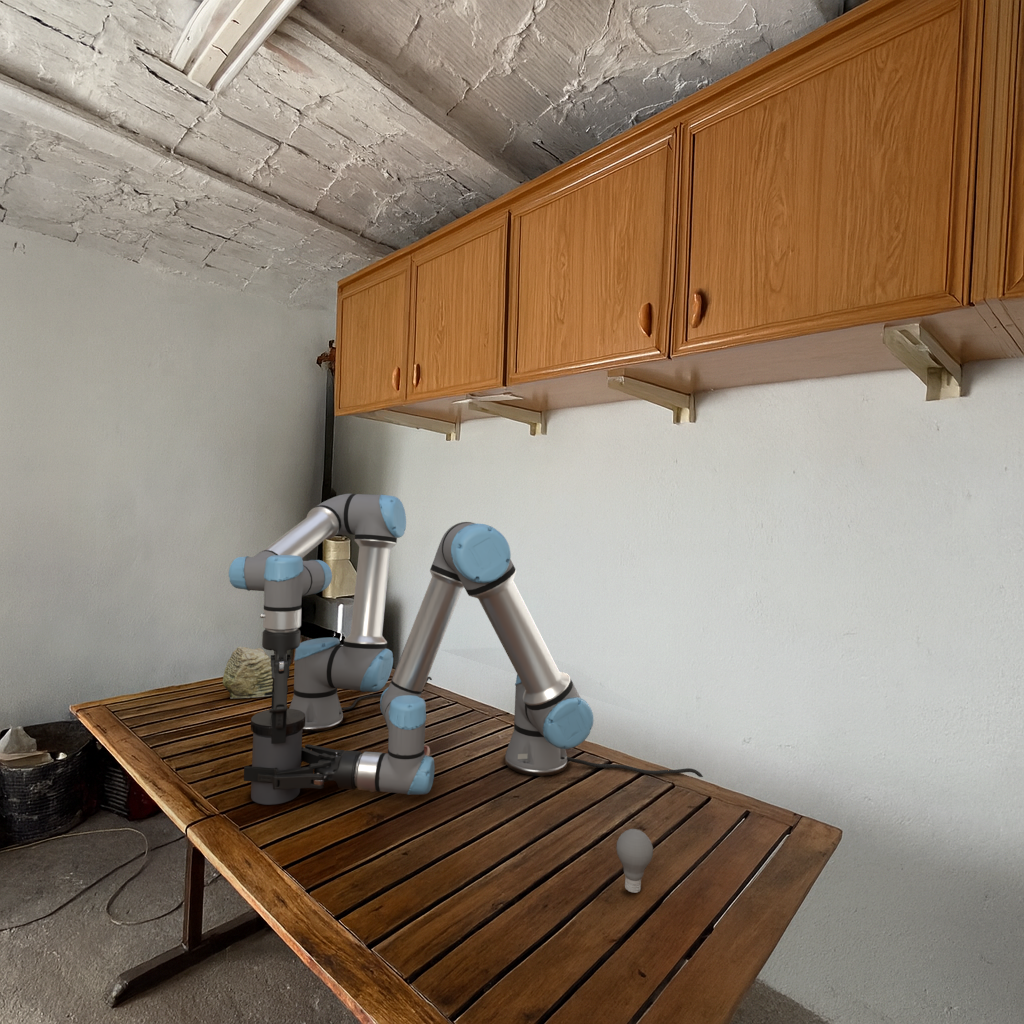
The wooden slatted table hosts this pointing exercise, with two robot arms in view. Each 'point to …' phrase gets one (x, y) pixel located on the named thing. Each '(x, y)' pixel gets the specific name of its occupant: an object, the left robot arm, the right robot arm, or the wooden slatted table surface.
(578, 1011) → the wooden slatted table surface
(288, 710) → the lid
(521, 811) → the wooden slatted table surface
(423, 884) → the wooden slatted table surface
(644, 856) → the light bulb
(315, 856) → the wooden slatted table surface
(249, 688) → the fossil
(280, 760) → the jar
